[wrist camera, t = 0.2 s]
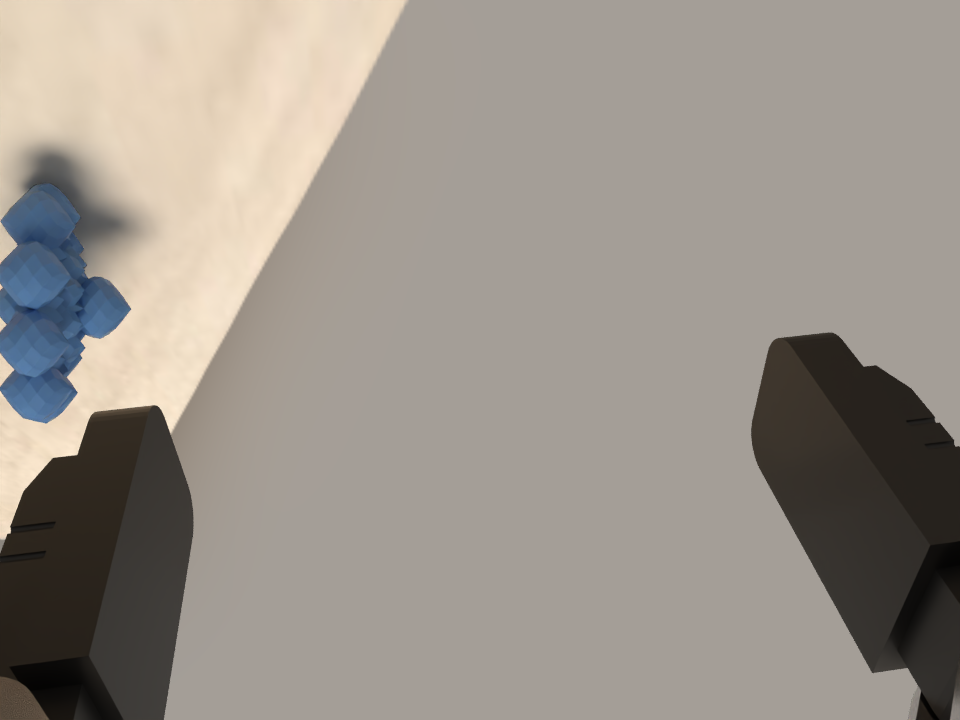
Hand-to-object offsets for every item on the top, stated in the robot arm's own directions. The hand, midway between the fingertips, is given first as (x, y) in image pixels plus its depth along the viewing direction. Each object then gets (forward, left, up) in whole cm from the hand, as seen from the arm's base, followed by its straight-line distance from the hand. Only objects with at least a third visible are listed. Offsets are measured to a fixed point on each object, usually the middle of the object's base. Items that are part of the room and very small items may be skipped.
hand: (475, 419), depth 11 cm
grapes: (+9, -31, -31) cm, 45 cm away
